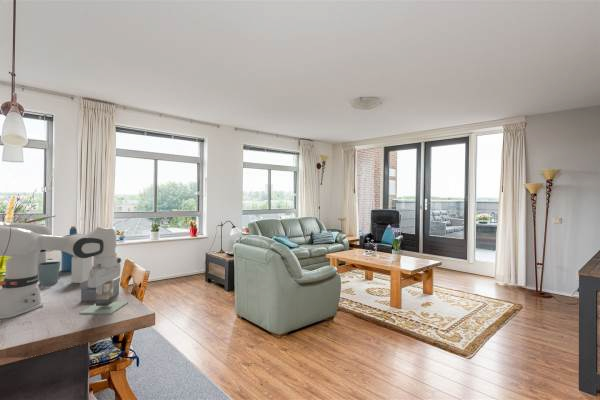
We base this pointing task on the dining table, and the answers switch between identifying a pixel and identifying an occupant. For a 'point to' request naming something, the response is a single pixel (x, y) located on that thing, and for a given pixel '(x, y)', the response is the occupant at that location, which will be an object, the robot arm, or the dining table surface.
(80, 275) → the milk carton
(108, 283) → the box
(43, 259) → the travel mug
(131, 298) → the dining table surface
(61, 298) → the dining table surface
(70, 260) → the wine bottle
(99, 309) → the sage mat
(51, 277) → the grey-green plant pot
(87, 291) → the storage tote
